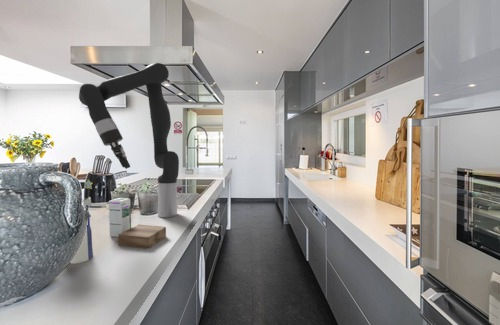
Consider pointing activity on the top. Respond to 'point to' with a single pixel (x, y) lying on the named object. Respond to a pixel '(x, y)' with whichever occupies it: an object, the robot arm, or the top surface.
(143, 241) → the walnut block
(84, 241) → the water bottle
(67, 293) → the top surface
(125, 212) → the syrup box
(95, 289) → the top surface
